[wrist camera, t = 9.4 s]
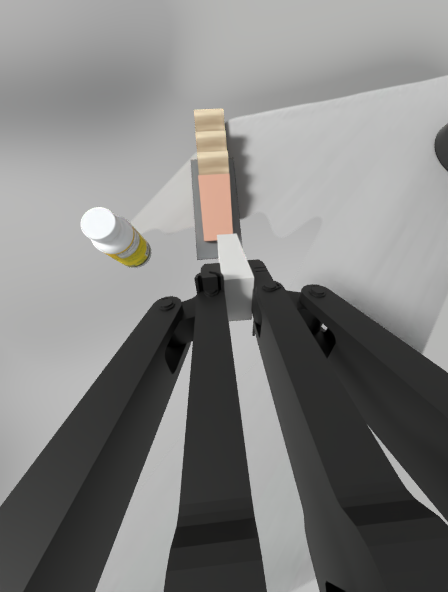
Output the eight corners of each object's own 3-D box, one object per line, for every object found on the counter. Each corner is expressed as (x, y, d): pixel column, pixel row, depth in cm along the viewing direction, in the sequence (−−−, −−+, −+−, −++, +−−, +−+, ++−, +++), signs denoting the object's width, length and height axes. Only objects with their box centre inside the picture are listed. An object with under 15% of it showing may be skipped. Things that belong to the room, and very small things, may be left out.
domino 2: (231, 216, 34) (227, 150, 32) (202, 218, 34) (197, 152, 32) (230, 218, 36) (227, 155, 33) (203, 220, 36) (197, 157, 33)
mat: (243, 256, 35) (243, 255, 35) (197, 259, 35) (197, 259, 34) (232, 158, 38) (232, 157, 38) (190, 161, 38) (190, 159, 38)
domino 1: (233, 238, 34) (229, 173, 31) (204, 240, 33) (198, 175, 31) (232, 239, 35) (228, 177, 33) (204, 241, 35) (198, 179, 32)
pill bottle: (114, 249, 35) (65, 216, 24) (141, 233, 35) (106, 193, 24) (130, 275, 34) (87, 253, 23) (158, 257, 35) (129, 228, 24)
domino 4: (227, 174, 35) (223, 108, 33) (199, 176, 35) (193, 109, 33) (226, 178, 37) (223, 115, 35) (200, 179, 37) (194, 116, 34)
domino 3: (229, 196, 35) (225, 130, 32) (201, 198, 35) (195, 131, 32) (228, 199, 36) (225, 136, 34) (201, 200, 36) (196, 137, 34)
